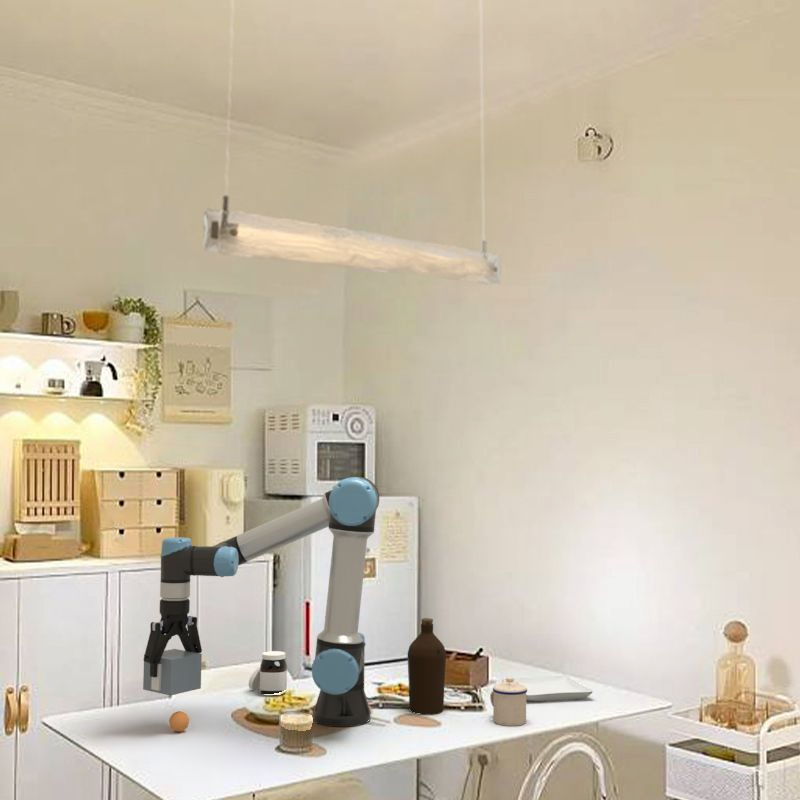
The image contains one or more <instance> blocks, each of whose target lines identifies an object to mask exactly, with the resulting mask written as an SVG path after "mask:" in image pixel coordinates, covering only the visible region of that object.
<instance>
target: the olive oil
mask: <svg viewBox="0 0 800 800" xmlns="http://www.w3.org/2000/svg"><path fill="white" fill-rule="evenodd" d="M420 619H421V624H420V633H419V634H418V636H417V637H415V639H414V640H413V641H412V642H411V643H410V645H409V647H408V650H407V675H408V676H407V677H408V701H409V702H408V704H409V705H408V709H410V710H411V711H412V712H411V711H410V710H409V711H410V712H411V713H413V712H415V713H414V714H416V713H420V714H419V715H426V714H429V715H437V714H440V713H442V711H443V712H444V704H445V702H444V701H445V681H446V680H445V679H446V664H447V663H446V662H447V652H446V648H445V646H444V644H443V643H442V641H440V639H439V638H438V637H437V636H436V635H435V634H434V624H433V623H434V619H433V618H429V617H428V618H420Z"/></svg>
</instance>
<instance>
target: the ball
mask: <svg viewBox="0 0 800 800" xmlns="http://www.w3.org/2000/svg"><path fill="white" fill-rule="evenodd" d="M189 724H190V717H189V716H188V714H187V713H186V712H185V711H183V710H182V711H181V710H177V711H175V712H173V713H172V714H171V715H170V717H169V719H168V726H169V727H170V729H171V730H172V731H174V732H177V733H181V732H183V731H185V730H186V729H187V728H188V727H189Z"/></svg>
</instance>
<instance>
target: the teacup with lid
mask: <svg viewBox="0 0 800 800" xmlns="http://www.w3.org/2000/svg"><path fill="white" fill-rule="evenodd" d="M505 679H506V681H502V682H500V683H498V684H495V685H494V686H493V688H492V691H491V692H490V698H489V699H490V704H491V706H492V707H493V708H492V709H493V716H492V717H493V722H494V723H495V724H497V725H500V726H506V727H516V726H522V725H525V724H526V722H527V700H526V692H527V688H526V687H525V686H523V685H520V684H519V683H517V682H515V681H514V677H513V676H512V677H511V676H508V677H506V678H505Z"/></svg>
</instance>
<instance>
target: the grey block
mask: <svg viewBox="0 0 800 800" xmlns="http://www.w3.org/2000/svg"><path fill="white" fill-rule="evenodd" d="M155 659H156V658H155ZM159 664H162V665H161V690H160V691H157V690H153V689H151V681H152V677H150V663H148V662H144V661H143V679H142V680H143V681H142V686H143V687H142V690H144V691H148V692H152V693H153V692H154V693H157V694H162V695H165V696H175V695H179V694H184V693H187V692H192V691H196V690H200V689H202V653H194V652H189V651H185V650H182V649H177V648H172V649H168V650H166V649H165V650H164V652H163V655H162V657H161V659H160V661H159Z"/></svg>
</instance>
